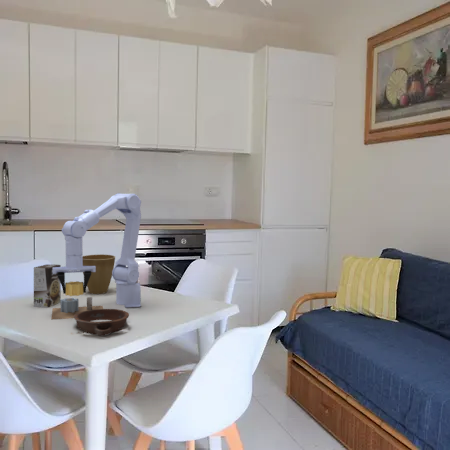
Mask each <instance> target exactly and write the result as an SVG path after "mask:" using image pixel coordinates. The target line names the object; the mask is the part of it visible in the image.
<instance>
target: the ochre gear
mask: <svg viewBox="0 0 450 450" xmlns="http://www.w3.org/2000/svg"><path fill="white" fill-rule="evenodd" d="M84 294H85V293H84V281H77V280H76V281H69V282H66V281H65V296H69V297H77V296H82V295H84Z"/></svg>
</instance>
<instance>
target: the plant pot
mask: <svg viewBox="0 0 450 450" xmlns="http://www.w3.org/2000/svg"><path fill="white" fill-rule="evenodd" d="M115 260H116V256H115V255H112V254H104V253H103V254H98V253H97V254H88V255H83V266H95V267H96V272H91V276H90V278H89V281H88V284H87V287H86V288H87V290H88V292H89V294H91V295H104V294H107V293H108V290H109V287H110V285H111V281H112V279H113V276H112V271H113V269H114V267H115V264H116V261H115ZM82 274H83V276H84V272H82Z"/></svg>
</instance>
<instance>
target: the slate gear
mask: <svg viewBox="0 0 450 450" xmlns="http://www.w3.org/2000/svg"><path fill="white" fill-rule="evenodd" d="M67 298H68V297H66V298H64V299H63V298H61V303H60V308H61V312H65V313H68V312H75V311H78V307H79V298H75V297H71V298H72V301H67Z"/></svg>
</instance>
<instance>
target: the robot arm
mask: <svg viewBox="0 0 450 450" xmlns="http://www.w3.org/2000/svg"><path fill="white" fill-rule="evenodd" d="M141 205H142V200H141V198H140V197H139V196H138V195H137V194H136V193H120V192H118V193H116V194H114V195H111V196H110V198H109V199H107V200H106V201H105V202H104V203H102V204H101V205H100V206H98V207H96V208H95V209H85V210H84V211H83V213H82V214H80V215H79V216H75V217H74V218H73V220H67V221H66V222H65V223H64V224H63V226H62V228H61V233H62V234H63V236H64V240H65V266H61V267H53V274H56V273H57V276H58V278H59V280H60V283H61V288H62V293H63V294H65V283H66V273H69V274H70V273H71V274H72V273H74V274H75V273H83V272H84V275H83V283H84V294H85V293H86V291H87V288H88V287H87V284H88V281H89V278H90V276H91V272H96V267H95V266H83V256H84V255H83V237H84V236H85V235H86V233H87V231H88V230H89V229H91V228H93V227H94V226H96V225H97V224H98V223H99V222H100V218H102V217H104V216H106V215H107V214H109V213H111V212H112V211H114V210H117V211H118V212H120V213H121V214H122V215H123V216H124V217H125V218H126V219H125V226H124V233H123V238H122V245H121V252H120V257H119V258H118V259H117V260H116V261H115V263H114V269H113V271H112V279H113V280H114V282H115V283H116V284H115V289H116V290H115V293H116V294H115V296H116V297H115V298H116V300H115V303H116V304H117V305H121V306H124V308H125V309H126V308H138V307H139V308H141V307H142V305H141V301H142V298H141V297H142V294H141V291H142V290H141V288H142V287H141V283H140V282H138V280H139V278H140V270H139V267H140V266H139V264H138V262H137V261H136V253H137V246H138V238H139V231H140V226H141V221H142V220H141V219H142V212H141Z"/></svg>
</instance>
